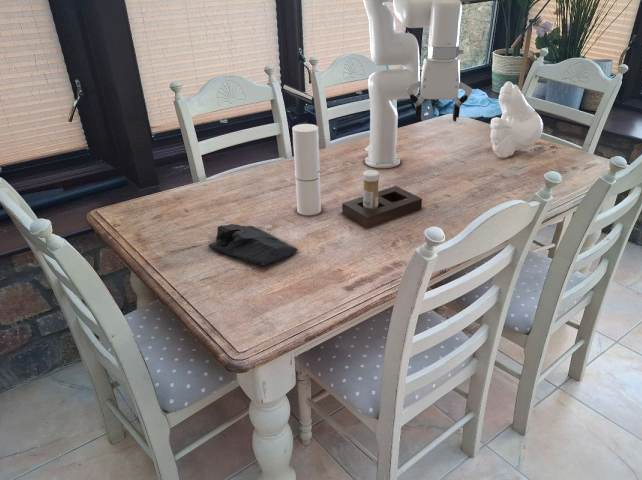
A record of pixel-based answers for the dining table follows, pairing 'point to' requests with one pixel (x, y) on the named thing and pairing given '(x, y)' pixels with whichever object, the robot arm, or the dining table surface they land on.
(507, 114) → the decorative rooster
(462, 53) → the robot arm
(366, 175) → the sprinkles bottle
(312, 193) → the cylindrical container
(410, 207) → the peg block
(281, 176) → the dining table surface
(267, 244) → the folded black cloth
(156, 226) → the dining table surface
